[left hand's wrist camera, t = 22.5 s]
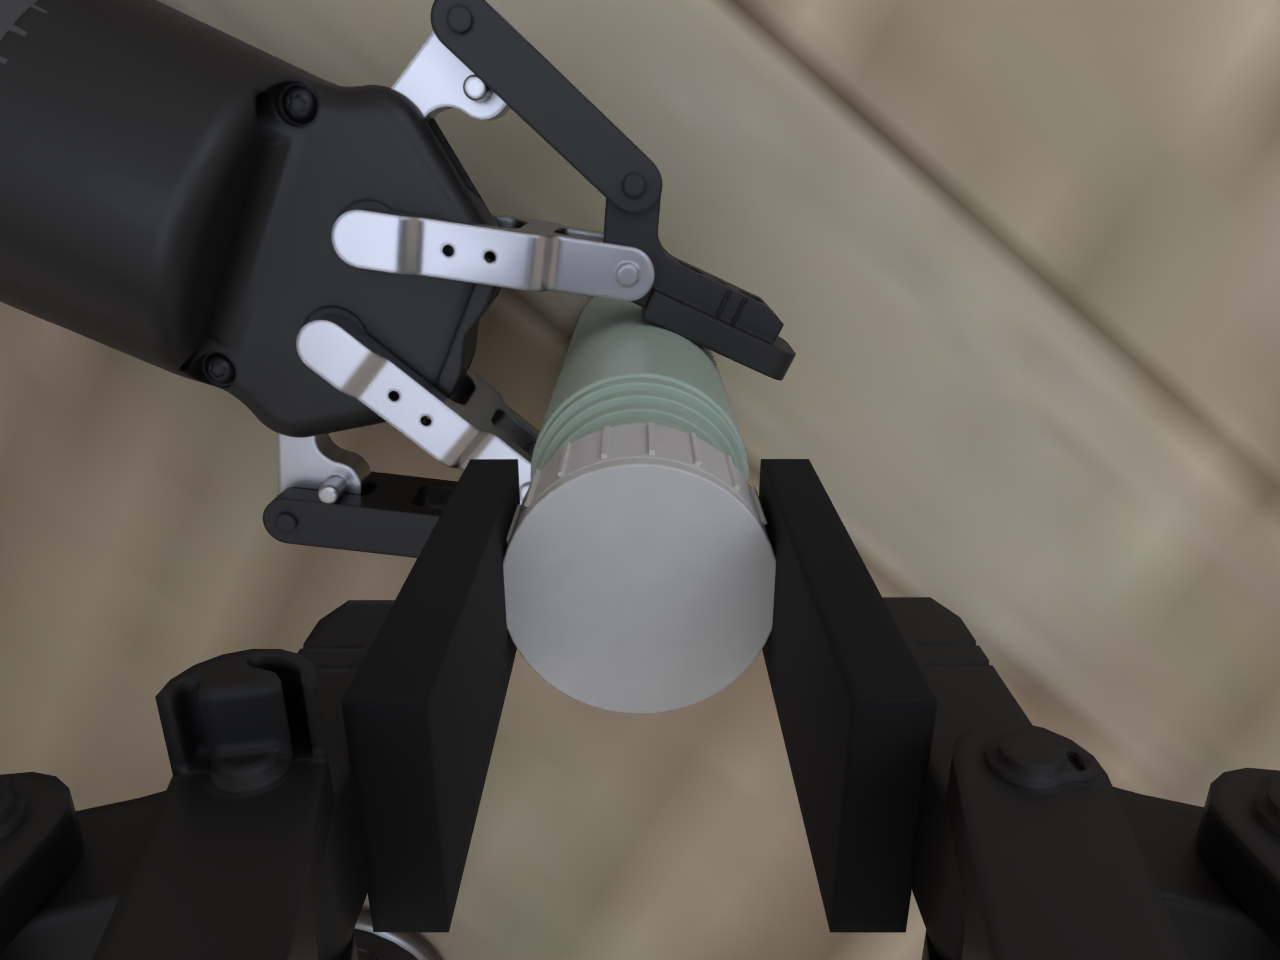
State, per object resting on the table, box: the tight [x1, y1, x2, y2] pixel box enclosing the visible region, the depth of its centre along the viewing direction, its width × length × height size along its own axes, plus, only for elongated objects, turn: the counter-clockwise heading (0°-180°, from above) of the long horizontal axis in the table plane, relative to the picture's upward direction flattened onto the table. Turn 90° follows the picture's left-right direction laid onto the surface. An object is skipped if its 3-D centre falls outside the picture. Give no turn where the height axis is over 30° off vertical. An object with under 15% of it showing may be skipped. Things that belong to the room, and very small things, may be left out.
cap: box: [503, 422, 776, 714], centre depth 14 cm, size 4×4×2 cm
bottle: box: [530, 297, 749, 482], centre depth 21 cm, size 4×4×16 cm
